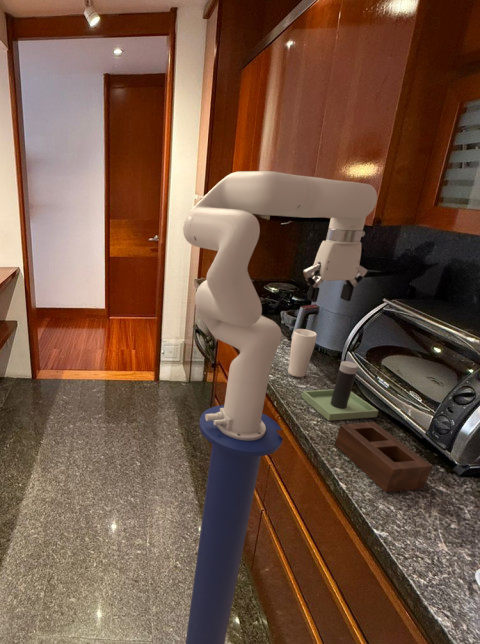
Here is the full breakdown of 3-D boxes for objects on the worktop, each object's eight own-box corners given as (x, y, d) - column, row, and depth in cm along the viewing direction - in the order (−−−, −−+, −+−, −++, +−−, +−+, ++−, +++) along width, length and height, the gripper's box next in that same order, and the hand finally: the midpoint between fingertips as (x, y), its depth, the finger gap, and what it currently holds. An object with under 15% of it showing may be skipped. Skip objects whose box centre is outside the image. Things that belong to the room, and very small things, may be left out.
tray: (328, 420, 104) (330, 414, 103) (301, 397, 115) (302, 391, 115) (376, 417, 106) (378, 410, 105) (345, 394, 117) (346, 388, 116)
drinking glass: (311, 378, 126) (321, 336, 120) (290, 379, 126) (300, 336, 120) (301, 369, 132) (310, 328, 126) (281, 369, 132) (289, 328, 126)
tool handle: (336, 409, 108) (348, 368, 103) (327, 401, 112) (337, 361, 107) (349, 408, 109) (361, 367, 104) (340, 400, 112) (351, 360, 107)
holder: (385, 492, 81) (393, 469, 78) (334, 444, 95) (340, 424, 93) (423, 488, 81) (432, 466, 79) (367, 442, 96) (374, 421, 94)
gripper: (364, 233, 103) (348, 295, 110) (303, 234, 102) (290, 297, 108) (386, 237, 96) (368, 303, 103) (321, 238, 95) (306, 305, 101)
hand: (328, 300), depth 105 cm, fingers open, 9 cm apart
